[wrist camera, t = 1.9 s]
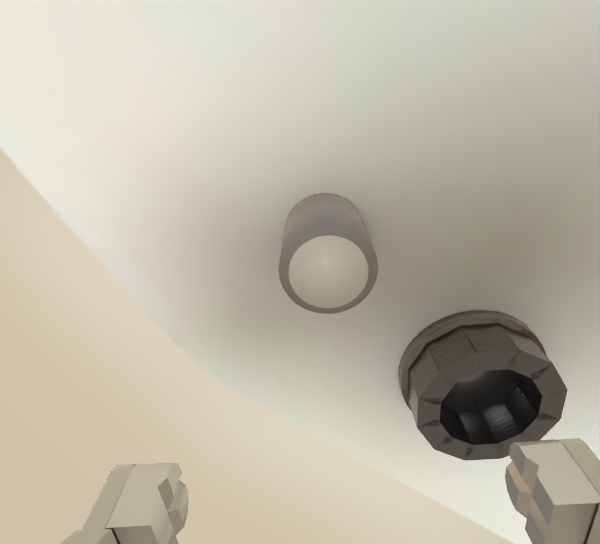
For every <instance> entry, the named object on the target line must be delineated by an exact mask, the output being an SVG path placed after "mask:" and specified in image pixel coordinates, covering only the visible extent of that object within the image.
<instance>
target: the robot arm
mask: <svg viewBox="0 0 600 544" xmlns="http://www.w3.org/2000/svg"><path fill="white" fill-rule="evenodd" d="M509 455H510V457H511V459H512V462H511V463H510V464H509V465H508V466H507V467H506V475H505V479H506V485H507V490H508V493H509V496H510V499H511V501H512V503H513V505H514V507H515V510H517V511H518V512H519V513H520V514H522V515H523V516H524V517H526V518H527V522H526V527H525V530H526V532H527V534H528V536H529V538H530V540H531V542H532V544H600V461H599V459H598V458H597V457H596V456H595V454H594V453H593V452H592V451H591V449H590V448H589V447H588V445H587V444H586V443H585V442H584V441H583V440H581V439H580V438H577V439H560V440H540V441H526V442H513V443H512V444H511V446H510V450H509ZM181 473H182V472H181V469H180V466H179V464H178V463H161V464H160V463H159V464H133V465H117V466H116V467H115V468H114V469H113V470H112V471H111V473H110V475H109V477H108V479H107V481H106V483H105V485H104V487H103V489H102V491H101V493H100V495H99V497H98V499H97V501H96V503H95V505H94V507H93V509H92V511H91V513H90V515H89V517H88V519H87V521H86V523H85V525H84V527H83V529H82V530H77V531H75V532H73V533H72V534H71V535H70V536H69V537H68V538H67V539H66V540H64V541H63V542H62V543H61V544H178V541H177V538H176V535H177V534H178V532H179V531H180V530H181V529H182V528H183V527H184V525H185V521H186V517H187V512H188V491H187V488H186V485H185V484H184V483H183V482H181V481H180V476H181Z"/></svg>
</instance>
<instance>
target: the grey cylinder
mask: <svg viewBox="0 0 600 544" xmlns="http://www.w3.org/2000/svg"><path fill="white" fill-rule="evenodd" d="M377 269H378V266H377V259H376V255H375V253H374V250H373V247H372V245H371V242H370V240H369V237H368V234H367V232H366V229H365V227H364V224H363V221H362V219H361V216H360V214H359V212H358V210H357V209H356V208H355V206H354V205H353V204H352V203H351V202H349V201H348V200H347V199H345V198H343V197H341V196H338V195H335V194H330V193H320V194H315V195H311V196H309V197H306V198H305V199H303V200H301V201H300V202H299V203H298V204H297V205H296V206H295V207H294V208H293V209H292V211H291V212H290V214H289V216H288V218H287V221H286V226H285V232H284V239H283V245H282V251H281V258H280V265H279V275H280V280H281V283H282V286H283V288H284V290H285V292H286V293H287V294H288V296H289V297H290V298H291V299H292V300H293V301H294V302H295V303H297V304H298V305H300V306H301V307H303V308H305V309H307V310H310V311H313V312H317V313H338V312H342V311H345V310H348V309H350V308H352V307H354V306H356V305H357V304H358V303H360V302H361V301H362V300H363V299H364V298H365V297H366V296H367V295H368V294H369V292H370V291H371V290H372V288H373V286H374V283H375V281H376V277H377Z"/></svg>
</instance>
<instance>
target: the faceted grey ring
mask: <svg viewBox="0 0 600 544" xmlns="http://www.w3.org/2000/svg"><path fill="white" fill-rule="evenodd" d="M399 383H400V386H401V390H402V393H403V397H404V399H405V401H406V404H407V405H408V407H409V408H410V410H411V411H412V413H413V416H414V419H415V422H416V425H417V428H418V429H419V430H420V432H421V433H422V434H423V435H424V437H425V438H426V439H427V440H428V442H429V443H430V444H431V445H432V447H433V448H434V449H435V450H438V451H441V452H443V453H446V454H449V455H452V456H454V457H457V458H460V459H463V460H481V459H500V458H504V457H506V456H508V455H509V450H510V446H511V444H512V443H513V442H526V441H539V440H540V439H541V438H542V437H543V436H544V435H545V434H546V433H547V432H548V431H549V430H550V429H551V428H552V427H553V426H554V425H555V424H556V423H557V422H558V421H559V420H560V419H561V415H562V411H563V406H564V402H565V398H566V394H567V388H566V386H565V384H564V383H563V381H562V379H561V377H560V376H559V374H558V372H557V370H556V368H555V367H554V365H553V363H552V362H551V361H550V360H549V359H548V358H547V356H546V353H545V350H544V348H543V346H542V344H541V343H540V341H539V340H538V339H537V337H536V336H535V335H534V334H533V333H532V332H531V331H530V330H529V329H528V328H527V327H526V326H525V325H524V324H523V323H521V322H520V321H519V320H517V319H515V318H513V317H511V316H508V315H505V314H503V313H498V312H493V311H469V312H463V313H458V314H454V315H451V316H449V317H446V318H443V319H441V320H439V321H437V322H435V323H434V324H432V325H430V326H429V327H427V328H426V329H425V330H423V331H422V332H421V333H420V334H419V335H418V336H417V337H416V338H415V339H414V340H413V341H412V342H411V343H410V345H409V346H408V348H407V349H406V351H405V353H404V355H403V357H402V360H401V363H400V367H399Z"/></svg>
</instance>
